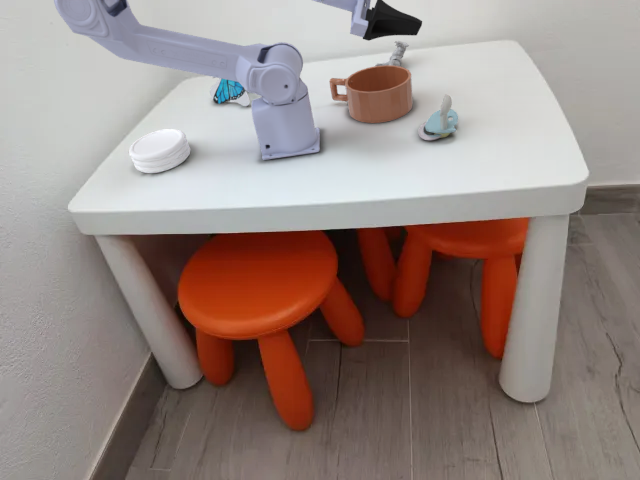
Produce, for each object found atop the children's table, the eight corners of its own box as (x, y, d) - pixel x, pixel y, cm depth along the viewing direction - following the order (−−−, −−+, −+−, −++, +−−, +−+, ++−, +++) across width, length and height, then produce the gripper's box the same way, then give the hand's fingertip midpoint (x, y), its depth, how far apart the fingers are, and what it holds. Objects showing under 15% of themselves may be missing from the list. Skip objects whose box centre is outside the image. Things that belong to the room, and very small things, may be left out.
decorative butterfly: (218, 68, 109) (255, 54, 104) (232, 95, 112) (269, 83, 107) (195, 88, 102) (234, 74, 97) (211, 116, 105) (250, 105, 100)
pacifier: (415, 145, 79) (455, 143, 77) (412, 107, 75) (453, 105, 73) (422, 122, 84) (459, 121, 82) (419, 86, 80) (458, 84, 78)
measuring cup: (422, 96, 91) (420, 66, 88) (397, 125, 84) (394, 94, 81) (347, 90, 99) (343, 63, 95) (318, 117, 92) (313, 88, 88)
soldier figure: (365, 86, 101) (376, 46, 107) (385, 99, 103) (395, 58, 108) (388, 62, 95) (398, 21, 100) (409, 76, 96) (418, 34, 102)
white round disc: (186, 139, 94) (180, 122, 92) (195, 162, 86) (188, 144, 84) (133, 156, 92) (126, 139, 90) (137, 181, 84) (129, 163, 82)
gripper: (326, -7, 62) (429, 24, 64) (341, -81, 68) (435, -52, 70) (314, 36, 69) (409, 63, 70) (329, -36, 75) (416, -9, 76)
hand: (421, 8), depth 71 cm, fingers open, 7 cm apart
